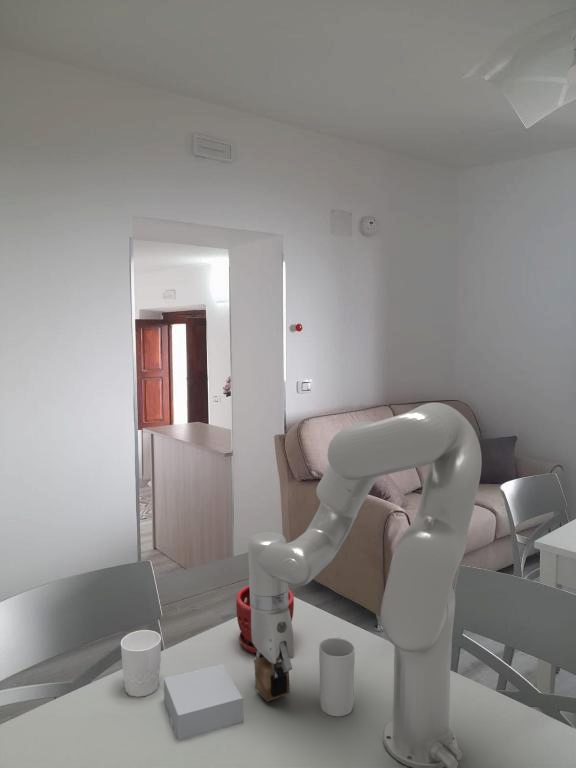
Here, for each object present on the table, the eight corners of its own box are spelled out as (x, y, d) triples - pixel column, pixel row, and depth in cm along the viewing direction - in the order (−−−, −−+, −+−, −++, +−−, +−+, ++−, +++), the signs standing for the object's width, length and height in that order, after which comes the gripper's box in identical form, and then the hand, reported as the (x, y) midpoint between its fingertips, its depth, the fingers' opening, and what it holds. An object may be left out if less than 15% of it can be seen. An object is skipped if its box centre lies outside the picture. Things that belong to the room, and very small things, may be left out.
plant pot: (224, 647, 134) (224, 597, 132) (261, 624, 144) (261, 577, 143) (269, 667, 126) (269, 614, 124) (305, 641, 136) (305, 592, 135)
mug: (353, 719, 109) (354, 658, 108) (317, 716, 110) (317, 655, 109) (355, 686, 119) (355, 630, 118) (322, 683, 120) (322, 627, 119)
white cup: (114, 694, 116) (112, 647, 115) (135, 672, 124) (134, 627, 123) (149, 702, 114) (148, 653, 113) (169, 679, 122) (168, 633, 121)
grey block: (242, 723, 109) (242, 698, 108) (178, 742, 104) (178, 715, 103) (223, 687, 119) (223, 663, 119) (164, 702, 115) (163, 678, 114)
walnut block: (289, 693, 115) (288, 663, 114) (266, 701, 112) (265, 671, 112) (277, 680, 119) (276, 652, 118) (255, 688, 117) (254, 659, 116)
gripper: (308, 609, 108) (311, 703, 110) (266, 577, 123) (269, 660, 125) (272, 620, 105) (275, 717, 106) (233, 586, 120) (237, 671, 121)
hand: (272, 685), depth 115 cm, fingers closed on walnut block, 5 cm apart
